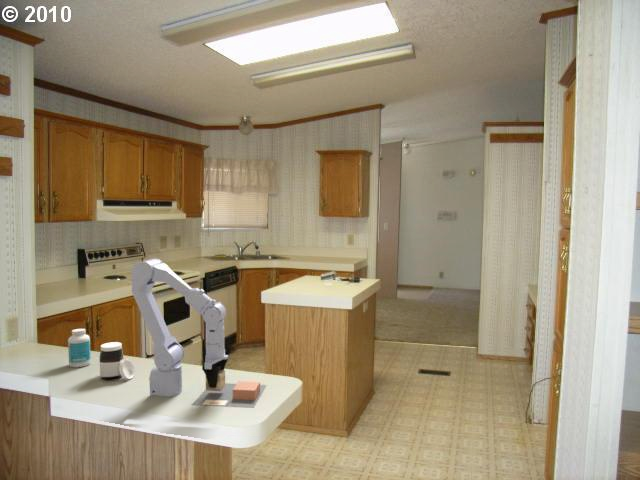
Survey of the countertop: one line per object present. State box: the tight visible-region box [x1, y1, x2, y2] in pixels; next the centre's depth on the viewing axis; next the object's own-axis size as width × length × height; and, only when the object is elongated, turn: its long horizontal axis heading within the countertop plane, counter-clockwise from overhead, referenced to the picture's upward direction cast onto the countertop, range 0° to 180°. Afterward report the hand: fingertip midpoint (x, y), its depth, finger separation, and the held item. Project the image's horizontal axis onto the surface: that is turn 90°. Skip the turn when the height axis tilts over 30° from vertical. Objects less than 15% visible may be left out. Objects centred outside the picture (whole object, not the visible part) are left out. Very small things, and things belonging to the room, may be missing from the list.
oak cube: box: [205, 369, 226, 391], centre depth 153 cm, size 5×5×5 cm
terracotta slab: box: [233, 380, 261, 400], centre depth 152 cm, size 7×7×3 cm
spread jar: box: [99, 341, 135, 382], centre depth 170 cm, size 12×11×12 cm
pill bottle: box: [67, 328, 92, 368], centre depth 183 cm, size 8×7×14 cm
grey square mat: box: [191, 382, 268, 409], centre depth 153 cm, size 19×18×1 cm
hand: (215, 384), depth 153 cm, fingers closed on oak cube, 5 cm apart
